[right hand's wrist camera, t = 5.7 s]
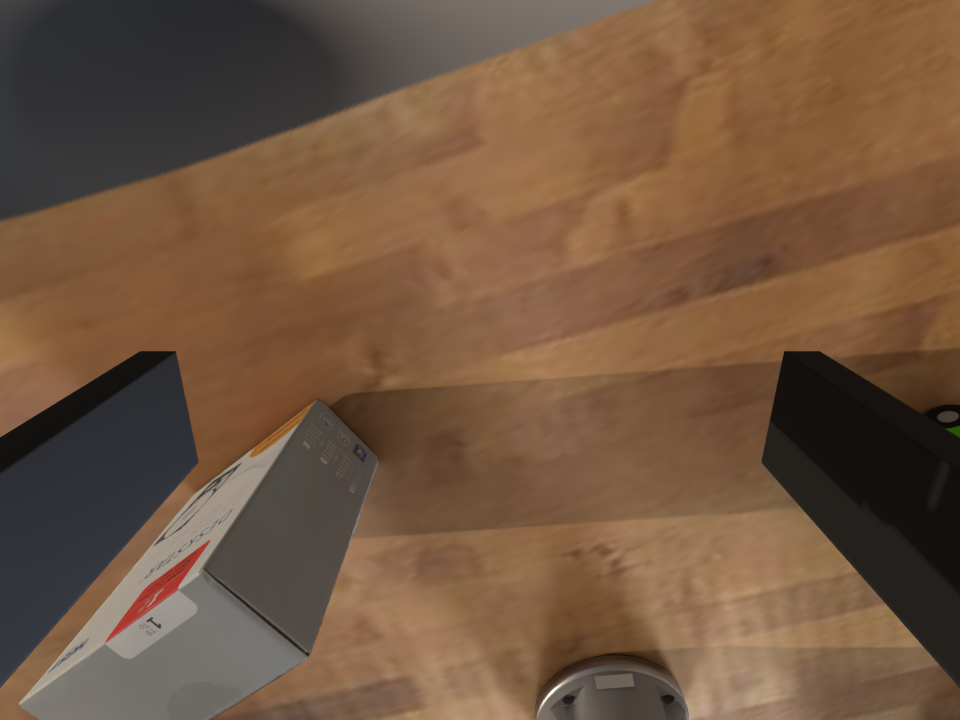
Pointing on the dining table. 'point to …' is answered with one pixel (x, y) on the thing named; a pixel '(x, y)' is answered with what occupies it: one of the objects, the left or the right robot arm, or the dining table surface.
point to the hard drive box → (222, 586)
